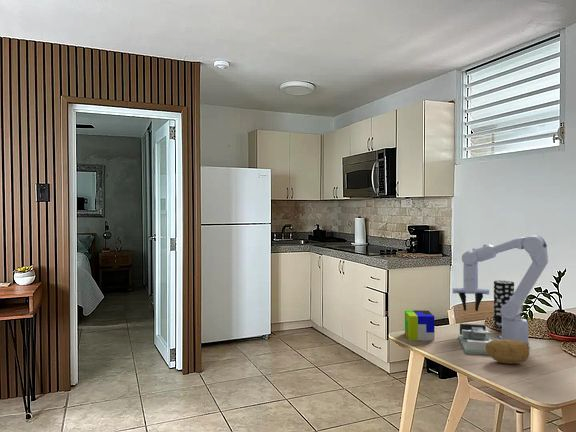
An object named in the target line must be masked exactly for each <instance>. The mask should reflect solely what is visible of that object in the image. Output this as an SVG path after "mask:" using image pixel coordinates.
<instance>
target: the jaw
mask: <svg viewBox="0 0 576 432" xmlns="http://www.w3.org/2000/svg"><path fill="white" fill-rule="evenodd" d="M471 327H481V328H483V330H484V331H485V333H486V340H489V338H490V331H489V330H487V327H486V324H481V323H479V324H478V323H476V324H475V323H459V336H460V335H461V337H462V338H466V339H471Z"/></svg>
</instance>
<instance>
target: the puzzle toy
mask: <svg viewBox="0 0 576 432" xmlns="http://www.w3.org/2000/svg"><path fill="white" fill-rule="evenodd" d="M404 334H405V335H406V337H407V339H408V340H409V341H435V315H434V314H432V312H430V310H418V309H417V310H414V309H413V310H412V309H411V310H410V309H409V310H408V309H407V310H404Z"/></svg>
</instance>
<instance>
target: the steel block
mask: <svg viewBox="0 0 576 432" xmlns="http://www.w3.org/2000/svg"><path fill="white" fill-rule="evenodd" d="M471 340H479V341H486V333H485V331H484V330H483V328H481V327H471Z"/></svg>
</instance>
